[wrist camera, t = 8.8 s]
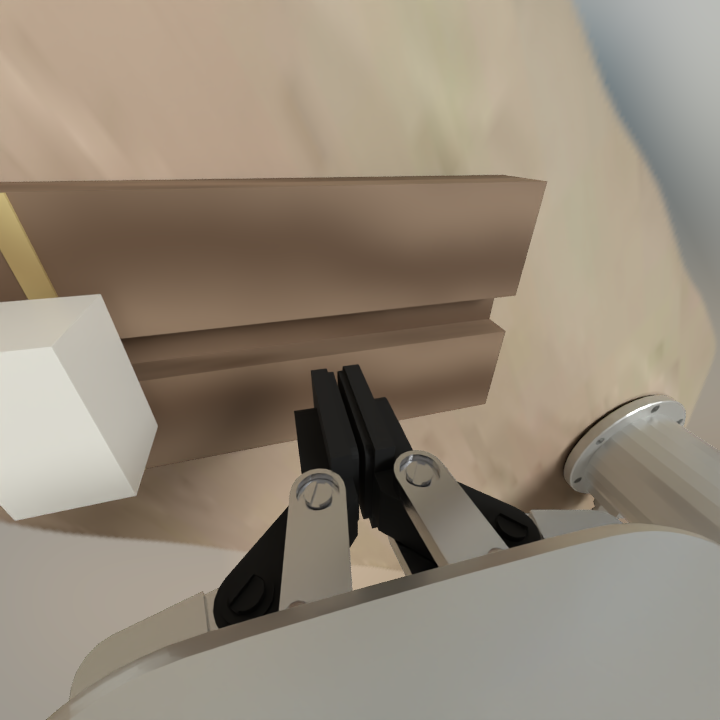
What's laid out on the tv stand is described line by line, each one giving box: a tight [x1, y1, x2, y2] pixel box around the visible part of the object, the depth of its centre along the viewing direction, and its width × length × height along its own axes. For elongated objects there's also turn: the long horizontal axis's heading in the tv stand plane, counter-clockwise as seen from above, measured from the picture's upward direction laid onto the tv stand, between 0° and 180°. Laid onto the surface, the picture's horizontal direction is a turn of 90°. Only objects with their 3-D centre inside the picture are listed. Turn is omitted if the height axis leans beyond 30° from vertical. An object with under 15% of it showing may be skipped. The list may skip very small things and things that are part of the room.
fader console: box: [0, 175, 547, 471], centre depth 16 cm, size 12×24×3 cm, turn 89°
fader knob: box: [0, 294, 158, 521], centre depth 12 cm, size 6×4×5 cm, turn 179°
